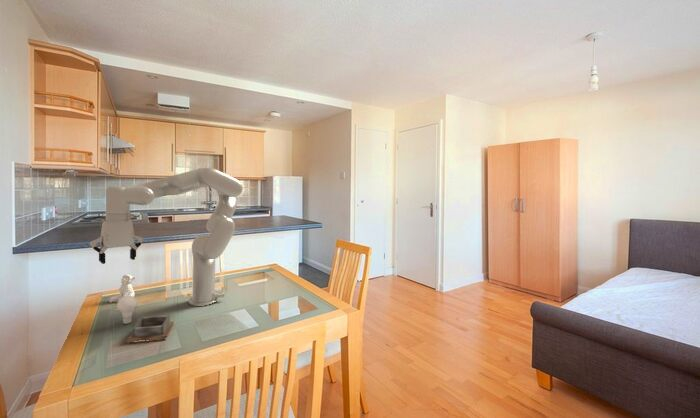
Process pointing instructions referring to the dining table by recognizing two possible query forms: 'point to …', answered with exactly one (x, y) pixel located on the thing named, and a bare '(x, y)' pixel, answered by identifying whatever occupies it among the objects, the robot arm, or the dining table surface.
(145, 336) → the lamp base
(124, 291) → the sitting furry creature
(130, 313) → the lightbulb
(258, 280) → the dining table surface
